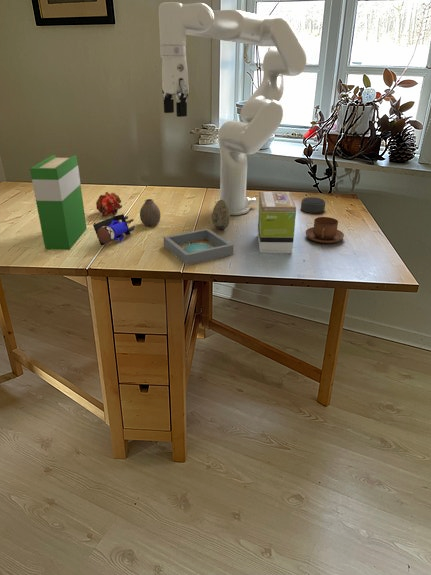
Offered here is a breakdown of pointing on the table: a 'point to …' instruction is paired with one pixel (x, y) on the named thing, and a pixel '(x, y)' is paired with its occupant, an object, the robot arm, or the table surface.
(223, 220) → the decorative egg
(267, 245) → the tea box
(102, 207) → the dragon fruit
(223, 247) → the walled pen
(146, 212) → the vase
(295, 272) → the table surface
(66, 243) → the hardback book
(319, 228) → the cup and saucer
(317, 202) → the smart speaker
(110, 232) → the character figurine
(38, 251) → the table surface
